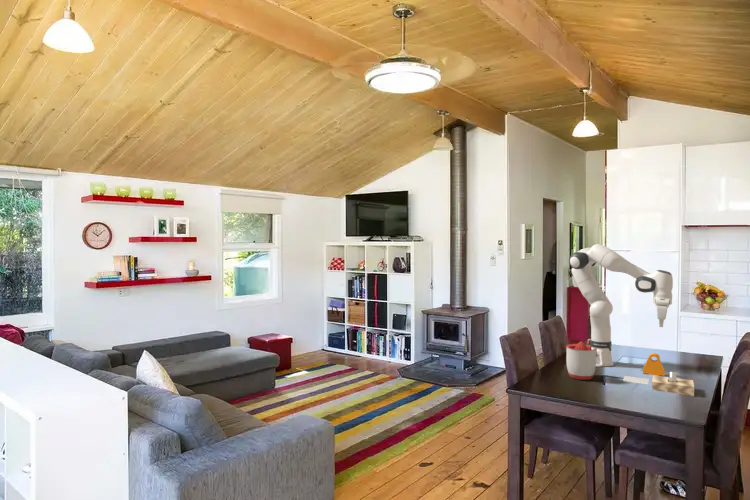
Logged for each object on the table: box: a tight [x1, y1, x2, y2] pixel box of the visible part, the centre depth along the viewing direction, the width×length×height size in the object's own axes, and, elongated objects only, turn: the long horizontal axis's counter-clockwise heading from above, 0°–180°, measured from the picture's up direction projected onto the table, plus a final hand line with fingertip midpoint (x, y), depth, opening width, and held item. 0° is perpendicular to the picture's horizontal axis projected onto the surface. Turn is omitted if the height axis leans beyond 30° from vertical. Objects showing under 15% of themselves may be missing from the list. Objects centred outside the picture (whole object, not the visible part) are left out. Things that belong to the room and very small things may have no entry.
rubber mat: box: [622, 375, 650, 385], centre depth 275 cm, size 12×12×1 cm
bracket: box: [642, 352, 666, 377], centre depth 288 cm, size 11×7×12 cm, turn 59°
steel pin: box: [668, 370, 677, 382], centre depth 259 cm, size 3×3×9 cm
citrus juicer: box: [565, 341, 599, 381], centre depth 281 cm, size 16×17×20 cm
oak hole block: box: [651, 375, 695, 397], centre depth 259 cm, size 18×14×4 cm
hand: (661, 325), depth 277 cm, fingers open, 8 cm apart
